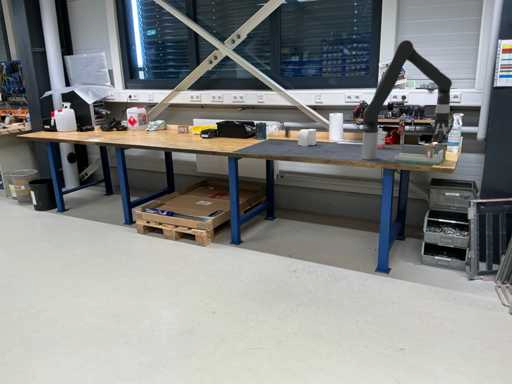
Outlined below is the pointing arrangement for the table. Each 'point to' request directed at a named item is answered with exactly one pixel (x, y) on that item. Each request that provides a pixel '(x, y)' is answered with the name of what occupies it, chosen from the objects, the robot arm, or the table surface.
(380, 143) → the ink cartridge box
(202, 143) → the table surface
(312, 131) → the light grey block
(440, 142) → the striker
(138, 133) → the table surface
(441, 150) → the translucent green rectangular tray
